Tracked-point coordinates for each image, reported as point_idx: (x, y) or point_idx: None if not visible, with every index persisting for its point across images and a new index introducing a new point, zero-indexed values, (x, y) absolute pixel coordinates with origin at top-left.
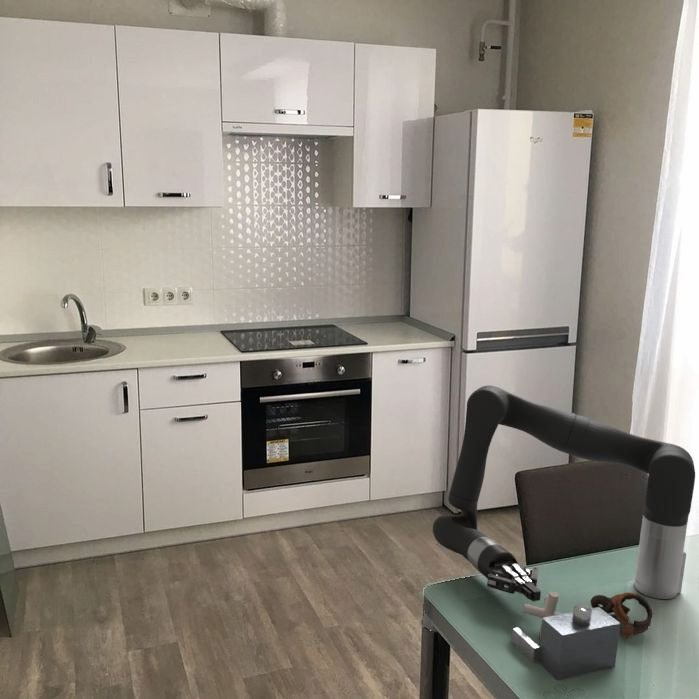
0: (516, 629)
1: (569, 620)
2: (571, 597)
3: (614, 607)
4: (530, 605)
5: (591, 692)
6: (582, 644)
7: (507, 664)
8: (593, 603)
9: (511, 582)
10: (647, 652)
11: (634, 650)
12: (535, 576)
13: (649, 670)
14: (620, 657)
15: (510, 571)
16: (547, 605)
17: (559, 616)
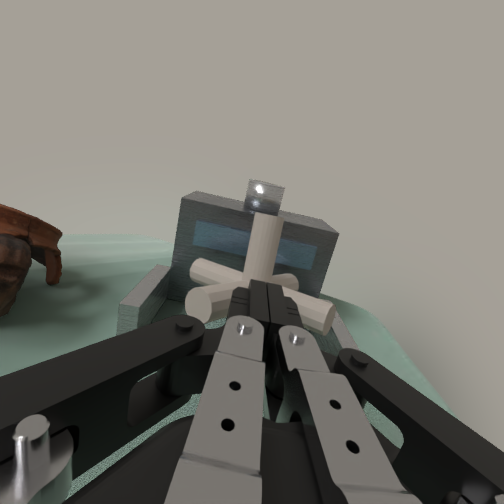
0: (350, 345)
1: (284, 216)
2: None
3: (33, 236)
4: (311, 298)
5: None
6: None
7: (375, 347)
8: (27, 272)
9: (370, 358)
10: (83, 260)
11: (96, 269)
12: (152, 333)
13: (141, 254)
14: (145, 275)
15: (348, 452)
16: (275, 258)
17: (297, 223)
